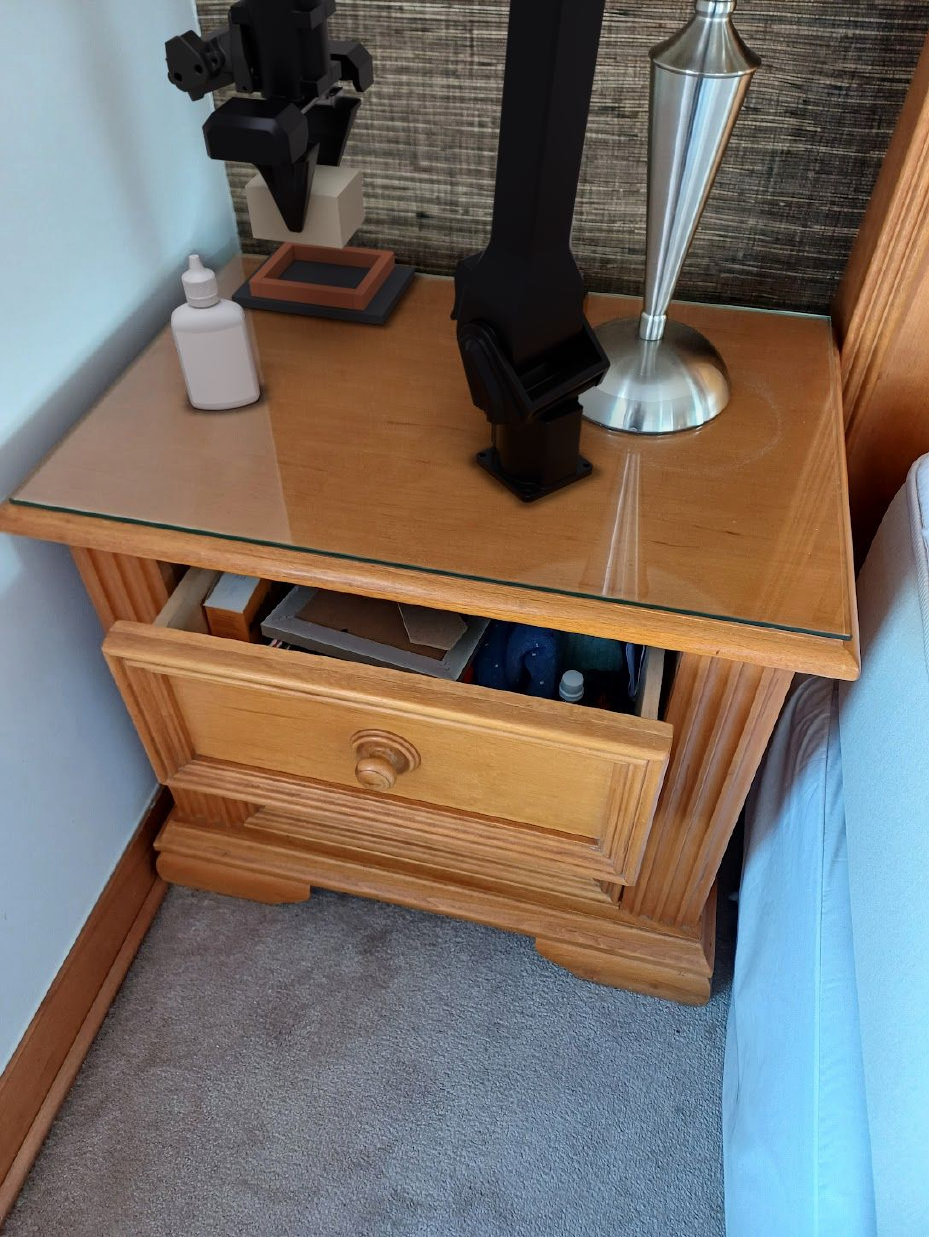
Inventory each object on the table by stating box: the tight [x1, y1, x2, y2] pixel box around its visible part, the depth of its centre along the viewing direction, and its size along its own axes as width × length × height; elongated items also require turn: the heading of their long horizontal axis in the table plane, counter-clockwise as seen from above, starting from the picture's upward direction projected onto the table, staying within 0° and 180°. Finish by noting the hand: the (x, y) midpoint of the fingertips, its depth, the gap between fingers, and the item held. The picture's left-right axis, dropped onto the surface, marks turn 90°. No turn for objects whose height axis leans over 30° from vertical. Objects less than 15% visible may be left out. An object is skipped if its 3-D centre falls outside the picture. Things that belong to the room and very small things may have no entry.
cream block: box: [244, 165, 365, 249], centre depth 71 cm, size 8×6×4 cm
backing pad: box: [231, 242, 416, 326], centre depth 87 cm, size 15×10×2 cm, turn 75°
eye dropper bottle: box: [170, 254, 261, 411], centre depth 70 cm, size 4×6×12 cm
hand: (309, 216), depth 72 cm, fingers closed on cream block, 5 cm apart
